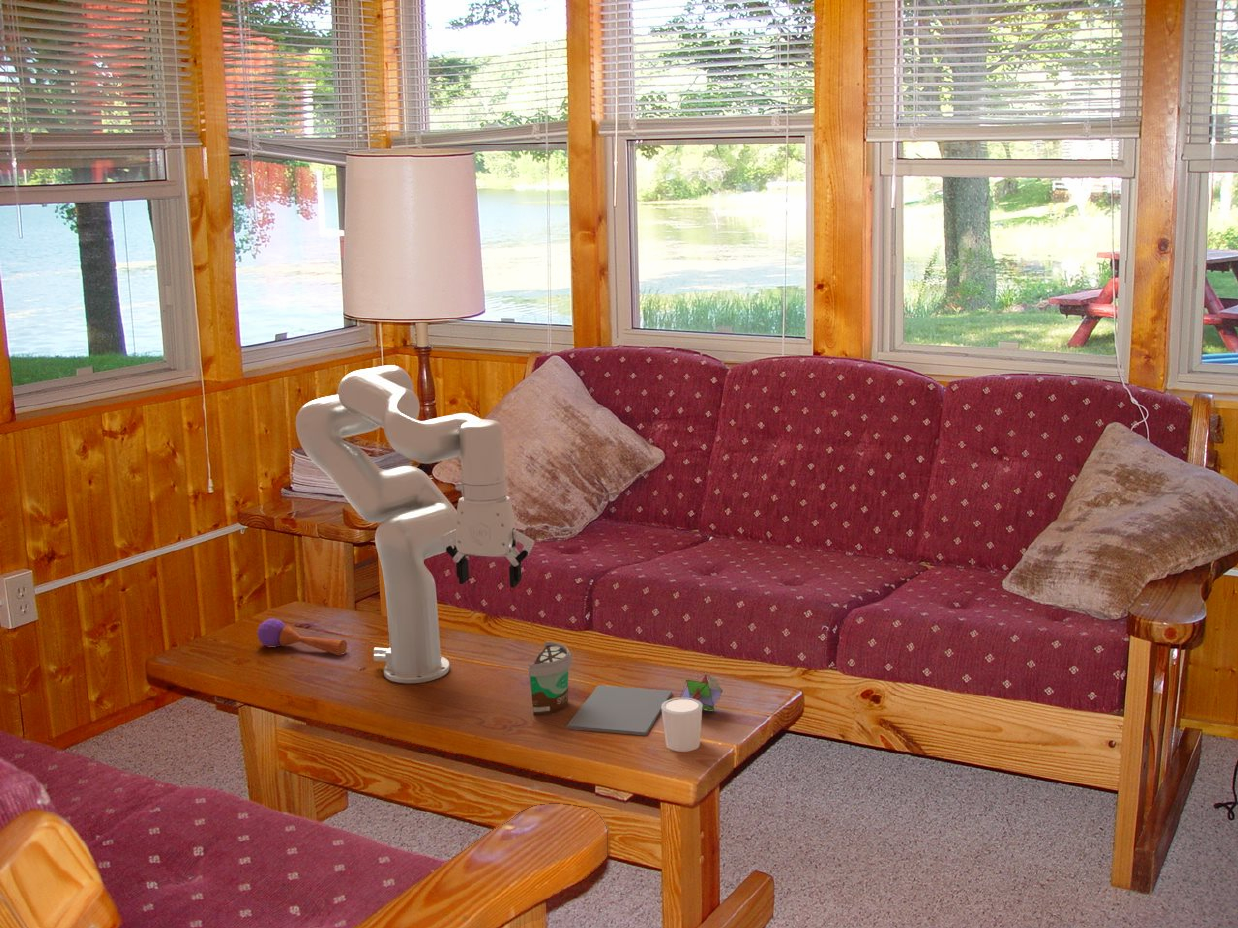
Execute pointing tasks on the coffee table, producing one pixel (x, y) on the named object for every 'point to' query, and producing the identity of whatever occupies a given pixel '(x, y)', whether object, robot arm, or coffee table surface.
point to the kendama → (295, 637)
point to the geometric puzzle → (703, 691)
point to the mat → (620, 710)
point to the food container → (550, 679)
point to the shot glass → (682, 723)
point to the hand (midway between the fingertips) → (489, 583)
